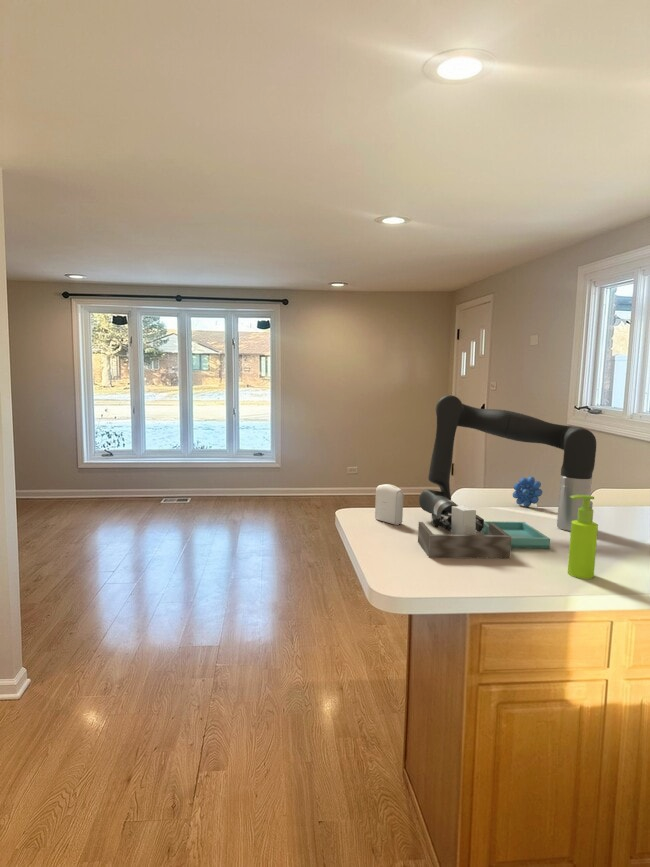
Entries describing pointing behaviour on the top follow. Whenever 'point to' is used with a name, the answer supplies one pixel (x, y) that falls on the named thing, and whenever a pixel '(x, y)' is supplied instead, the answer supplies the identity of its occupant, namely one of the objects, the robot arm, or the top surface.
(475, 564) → the top surface
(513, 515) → the top surface
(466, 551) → the bay
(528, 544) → the tray
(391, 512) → the photo printer
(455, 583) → the top surface
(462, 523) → the skincare box
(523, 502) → the blue knobbly flower shape
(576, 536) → the soap dispenser
